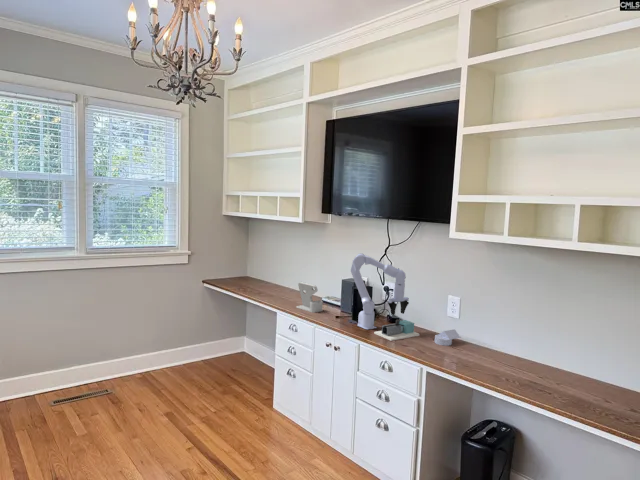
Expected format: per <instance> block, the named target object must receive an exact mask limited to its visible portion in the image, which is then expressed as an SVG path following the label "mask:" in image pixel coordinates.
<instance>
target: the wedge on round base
mask: <svg viewBox="0 0 640 480" xmlns="http://www.w3.org/2000/svg"><path fill="white" fill-rule="evenodd" d="M460 338H461V336H460V334H459V333H458V331H457V330H456V328H455V329H448V330H443V331H441V332H440V333H438V334H435V335H434V343H435V344H436V345H438V346H445V347H448V346H451V345H453V344H452V342H453V341H452V340H457V339H460Z"/></svg>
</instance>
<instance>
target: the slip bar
mask: <svg viewBox="0 0 640 480" xmlns="http://www.w3.org/2000/svg"><path fill="white" fill-rule="evenodd" d="M400 321H401V320H400V319H396V320H395V323H396V325H399V322H400ZM402 331H404V325H401V332H402Z"/></svg>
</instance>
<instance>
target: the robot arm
mask: <svg viewBox="0 0 640 480" xmlns="http://www.w3.org/2000/svg"><path fill="white" fill-rule="evenodd" d="M364 265H371V266H373V267H376V268H378V269H380V270H381V271H383V273H384V274H386V275H388V276H389V277H391V278H393V279H394V278H395V282H394V290H393V292H394V293H393V297H391V298H388V301H387V304H388V306H389V309H390V313H391V315H392V316H395V315H396V309H397V307H398V303H399V304H400V313H401V314H403V315H404V314H405V312H406V309H407V307H408V305H409V303H410V302H409V301H410V300H409V297H406V296H405V288H406V287H405V286H406V283H405V282H406V277H407V276H406V273H405V271H404V270H403V269H400V268H397V267H395V266H393V264H392V263H390V264H389V263H387V264H385V263H382V262H381V261H379V260H376V259H375V258H374V257H372V256H369V255H366V254H364V253H358V254H356V256H354V258H353V259H352V263H351V267H350V272H351V273H350V274H351V275H352V278H353V281H354V283H355V286H356V288H357V290H358V294H359V296H360V298H361V302H362V309H363V310H361V311H360V312H358V316H357V317H358V318H357V319H358V320H357V322H358V323H357V324H356V326H357V327H359V328H362V329H364V330H368V331H369V330H373V329H377V326H375V313H376V312H375V311H374V309H375V307H376V305H375V304H376V303H375V302H374V301H373V300H372V297H370V295H369V292H368V289H367V287H366V285H365V282H364V280H363V279H364V278H363V277H362V274H361V271H360V270H361V269H362V266H364Z"/></svg>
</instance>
